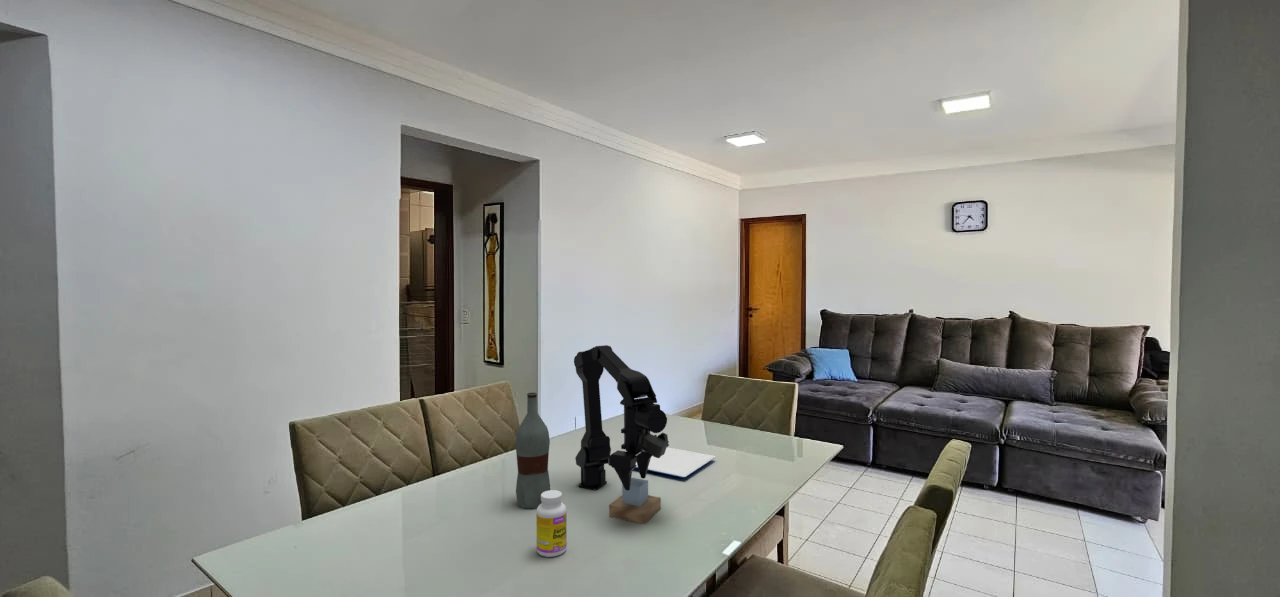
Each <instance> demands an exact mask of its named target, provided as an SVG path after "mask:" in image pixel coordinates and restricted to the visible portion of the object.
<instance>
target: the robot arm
mask: <svg viewBox="0 0 1280 597" xmlns="http://www.w3.org/2000/svg"><path fill="white" fill-rule="evenodd" d="M573 363H574V366H575V373H576V374H577V377H578V378H579V379H580V381H581V383H582V394H583V396H582V397H583V408H584V409H583V410H584V423H585V425H584V426H585V432H584V433H583V434H584V435H583V436H582V439H580V449H579V451H578V453H577V454H576V456H575V458H574V459H575V464H576V466H578V467H579V468H580V483H578V484H577V487H579V488H583V489H589V490H595V491H596V490H599V489H600V488H602V487H603V486H604V485H606V484H607V483H608V481H607V480H606V477H607V476H606V469H605V465H608V467H609V466H610V467H611V468H612V469H614V471H615V473H616V475H617V476H618V479H619V480H620V482H621V485H622V484H623V486H624V488H625V490H628V491H629V490H630V485H631V478H632V474H633V471H634V469H636V468H635V467H636V466H637V465H638V468H637V469H638V472H639V475H640V479H642V480H646V476H647V472H648V471H649V470H648V466H649V463H650V459H651V457H652V456H653V457H655V458H660V457H661V456H662V455H664V454H665V451H666V448H667V447H668V448H669V446H670V444H669V443H670V442H669V438H668V434H667V433H664V432H663V431H664V429H665V428H666V426H667V424H668V417H667V415H666V413H665V412H664V410H661V405H660V404H659V403H658V399H657V398H656V397H657V395H656V393H655V391H654V389H653V386H652V384H651V382H650V380H649V378H648V377H647V376H646V375H645V374H644V373H642V372H640V371H638V370H636V369H635V370H634V369H632V368H630V367H629V366H628V364H626V363H625V362H624V361H623V360H622V359H621V357H619V355H617V354H616V353H615V352H614V351H613V348H612V347H611V345H607V344H605V345H596V346H593V347H591V348H590V349H588V350H584V351H578V352H577V353H576V355H575V356H574V357H573ZM604 370H605V371H606V372H607V373H608V374H609V375H610V376H611V377H612V378H613V379H614V380H615V382H616V389H617V391H618V393H619V394H620V396H621V397H622V400H620V403H619V404H620V405H622V406H623V427H622V428H621V430H620V434H623V438H624V439H623V443H622V444H620V449H621V450H616V451H615V452H613V453H611V451H612V448H611V438H610V436H609V435H607V434H606V433H605V431H604V430H603V420H602V419H603V418H602V406H601V393H600V390H601V389H600V380H601V377H602V375H603V373H604V372H605V371H604ZM651 432H652V433H654V434H652V433H651ZM659 433H660V434H659ZM657 434H659V435H657ZM636 462H637V465H636Z"/></svg>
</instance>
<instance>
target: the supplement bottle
mask: <svg viewBox="0 0 1280 597" xmlns="http://www.w3.org/2000/svg"><path fill="white" fill-rule="evenodd" d="M562 500H563V492H561V491H559V490H555V489H550V490H549V491H545V492H543V493H542V494H541V502H542V504H540V505H539V506H538V508H536V511H535V512H536V513H535V514H536V551H537V552H536V553H537V554H539V555H540V556H542V557H546V558H553V557H554V558H555V557H558V556H560V555H562V554H564V553H565V551H567V544H568V543H567V542H568V541H567V535H568V534H567V531H568V530H567V528H568V527H567V507H566V504H564V503H563V502H562Z"/></svg>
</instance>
